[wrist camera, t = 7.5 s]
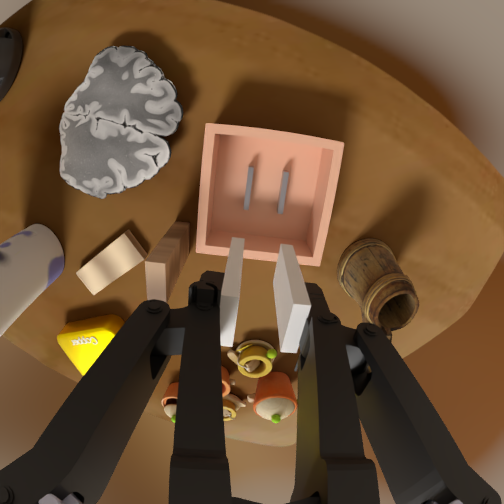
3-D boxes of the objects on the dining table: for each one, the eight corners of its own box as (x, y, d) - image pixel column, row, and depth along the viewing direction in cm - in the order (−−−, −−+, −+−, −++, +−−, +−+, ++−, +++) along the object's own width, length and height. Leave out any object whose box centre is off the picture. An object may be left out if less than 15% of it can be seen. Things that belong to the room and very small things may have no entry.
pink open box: (213, 124, 32) (205, 123, 26) (329, 140, 32) (344, 142, 27) (204, 233, 37) (195, 252, 32) (310, 246, 38) (319, 266, 32)
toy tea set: (262, 326, 44) (264, 371, 35) (310, 377, 49) (318, 418, 40) (153, 382, 50) (140, 420, 41) (205, 420, 55) (200, 455, 46)
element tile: (119, 310, 43) (108, 328, 39) (159, 373, 49) (153, 391, 44) (63, 322, 45) (51, 337, 40) (101, 377, 50) (94, 393, 46)
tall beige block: (175, 221, 36) (145, 261, 25) (190, 222, 37) (165, 263, 26) (174, 252, 38) (147, 301, 27) (188, 254, 38) (166, 304, 27)
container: (43, 212, 36) (-47, 269, 17) (75, 264, 39) (-1, 342, 21) (16, 240, 37) (-59, 297, 19) (45, 286, 41) (-20, 356, 23)
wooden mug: (316, 312, 42) (343, 408, 26) (350, 230, 37) (413, 306, 20) (365, 321, 43) (405, 407, 27) (401, 247, 38) (472, 318, 21)
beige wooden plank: (129, 228, 37) (124, 233, 35) (148, 253, 39) (144, 259, 37) (81, 267, 40) (75, 273, 38) (98, 288, 41) (93, 295, 40)
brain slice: (159, 211, 36) (152, 217, 33) (60, 176, 34) (48, 180, 31) (210, 67, 29) (207, 61, 26) (97, 45, 26) (87, 41, 24)
